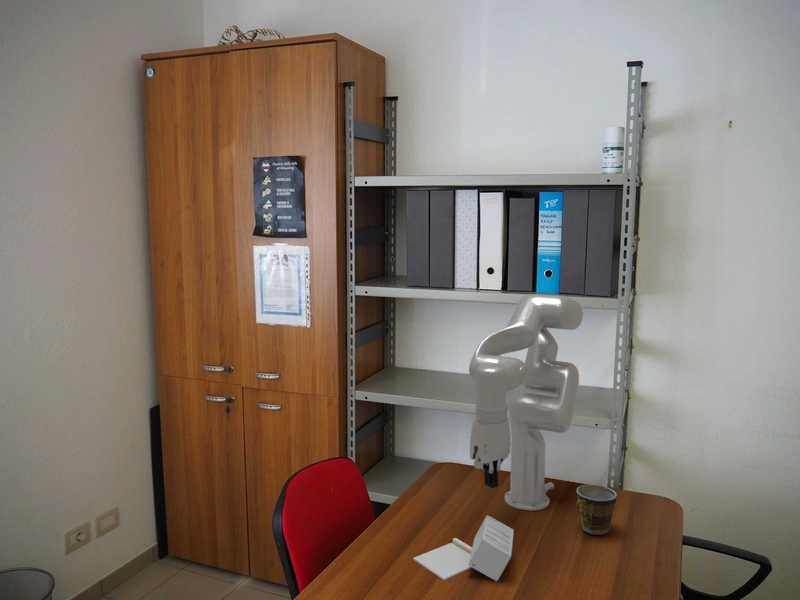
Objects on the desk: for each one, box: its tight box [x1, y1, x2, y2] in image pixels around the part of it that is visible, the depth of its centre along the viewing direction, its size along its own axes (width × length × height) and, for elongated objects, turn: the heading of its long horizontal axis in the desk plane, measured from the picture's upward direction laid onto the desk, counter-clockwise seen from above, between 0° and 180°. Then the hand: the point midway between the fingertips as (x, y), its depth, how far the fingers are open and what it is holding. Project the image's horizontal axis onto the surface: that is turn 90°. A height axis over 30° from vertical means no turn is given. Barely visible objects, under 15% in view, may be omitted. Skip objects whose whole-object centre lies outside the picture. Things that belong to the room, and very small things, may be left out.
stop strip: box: [452, 537, 473, 554], centre depth 151 cm, size 1×11×1 cm, turn 37°
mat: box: [412, 542, 473, 581], centre depth 147 cm, size 12×11×1 cm
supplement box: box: [469, 514, 515, 582], centre depth 145 cm, size 7×7×13 cm
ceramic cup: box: [575, 484, 618, 536], centre depth 162 cm, size 13×10×10 cm
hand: (491, 485), depth 154 cm, fingers closed
